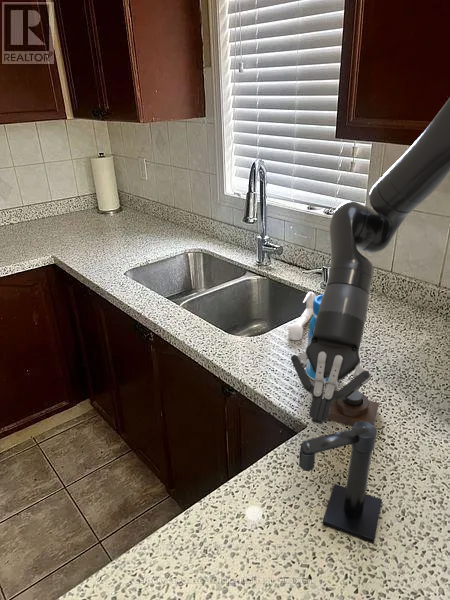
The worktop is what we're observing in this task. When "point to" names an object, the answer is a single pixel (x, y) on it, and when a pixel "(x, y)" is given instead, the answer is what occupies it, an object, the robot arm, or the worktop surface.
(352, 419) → the brown button base
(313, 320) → the beverage bottle
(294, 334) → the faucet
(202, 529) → the worktop surface
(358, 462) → the tap body
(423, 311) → the worktop surface
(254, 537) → the worktop surface
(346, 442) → the spout
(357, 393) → the pump button
